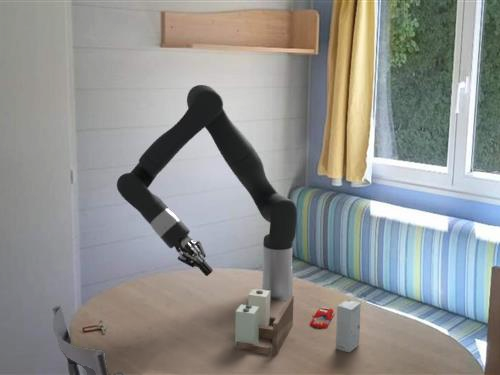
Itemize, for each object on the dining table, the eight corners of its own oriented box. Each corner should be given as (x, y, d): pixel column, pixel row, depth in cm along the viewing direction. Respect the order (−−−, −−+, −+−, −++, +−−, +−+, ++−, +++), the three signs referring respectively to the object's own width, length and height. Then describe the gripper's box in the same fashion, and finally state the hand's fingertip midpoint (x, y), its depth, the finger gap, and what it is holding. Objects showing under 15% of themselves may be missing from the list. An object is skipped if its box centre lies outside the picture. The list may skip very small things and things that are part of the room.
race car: (325, 335, 178) (326, 322, 177) (307, 332, 180) (307, 319, 179) (336, 317, 190) (337, 305, 189) (319, 314, 192) (319, 302, 191)
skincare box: (349, 353, 167) (352, 310, 165) (334, 348, 170) (336, 305, 167) (359, 344, 172) (362, 302, 170) (344, 340, 175) (347, 298, 172)
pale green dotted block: (235, 346, 167) (235, 310, 165) (240, 339, 171) (241, 303, 169) (253, 349, 165) (254, 312, 163) (258, 341, 170) (259, 305, 168)
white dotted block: (248, 328, 178) (248, 293, 176) (252, 321, 183) (253, 287, 180) (265, 330, 177) (266, 295, 175) (269, 323, 181) (270, 289, 179)
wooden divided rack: (221, 351, 167) (221, 315, 165) (242, 322, 185) (242, 290, 183) (276, 359, 163) (277, 323, 161) (292, 329, 181) (293, 296, 179)
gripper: (168, 225, 174) (211, 273, 173) (186, 214, 186) (226, 258, 186) (151, 242, 176) (192, 289, 176) (170, 230, 189) (209, 273, 188)
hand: (209, 273), depth 181 cm, fingers closed
